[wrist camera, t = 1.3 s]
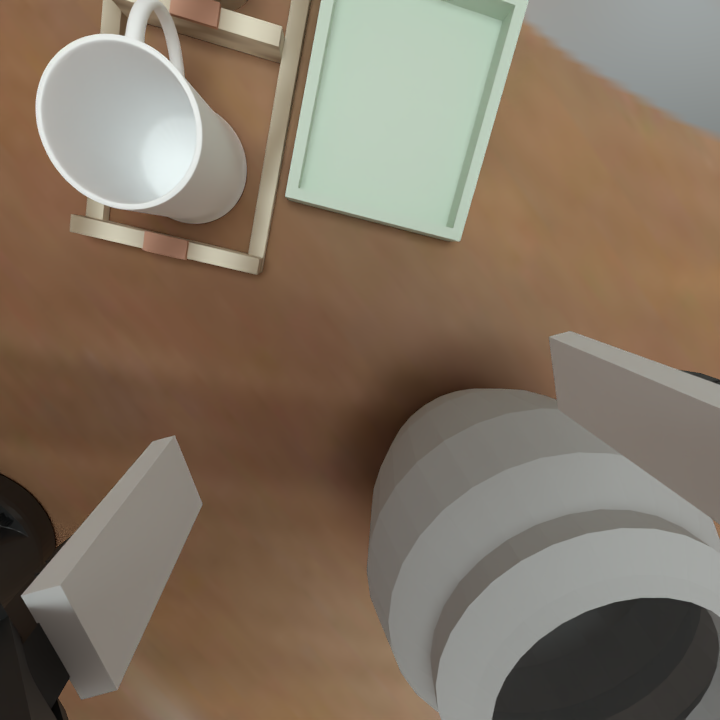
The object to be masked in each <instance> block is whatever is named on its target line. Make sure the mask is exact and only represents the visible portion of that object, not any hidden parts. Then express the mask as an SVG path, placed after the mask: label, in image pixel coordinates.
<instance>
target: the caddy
mask: <svg viewBox="0 0 720 720" xmlns="http://www.w3.org/2000/svg"><path fill="white" fill-rule="evenodd" d="M136 1H137V0H103V8H102V20H101V33H100V34H116V35H122V36H125V32H126V26H127V19H128V17H129V14H130V11H131V9H132V6H133V5H134V3H135V2H136ZM159 1H160V2H162V3H163V4H164V5H165V7H166V8H167V10H168V11H169V13H170V15H171V17H172V19H173V22H174V24H175V27H176V30H177V33H180V34H183V35H187V36H190V37H193V38H197V39H200V40H203V41H207V42H210V43H213V44H217V45H220V46H224V47H227V48H230V49H234V50H237V51H240V52H244V53H247V54H250V55H254V56H257V57H260V58H264V59H267V60H270V61H274V62H277V63H280V70H279V76H278V82H277V88H276V94H275V100H274V105H273V111H272V117H271V123H270V129H269V135H268V141H267V146H266V152H265V158H264V164H263V170H262V176H261V182H260V187H259V193H258V199H257V205H256V211H255V217H254V223H253V229H252V234H251V240H250V246H249V252H248V253H244V252H240V251H235V250H231V249H227V248H223V247H218V246H214V245H210V244H206V243H202V242H197V241H193V240H189V239H185V238H180V237H176V236H172V235H168V234H164V233H159V232H155V231H151V230H147V229H142V228H138V227H134V226H130V225H126V224H121V223H117V222H113V221H109V214H110V207H109V206H106V205H103V204H101V203H98V202H96V201H94V200H92V199H90V198H88V197H87V208H86V216H81V215H72V214H71V221H70V232H74V233H78V234H83V235H87V236H91V237H96V238H100V239H104V240H109V241H113V242H117V243H122V244H126V245H130V246H135V247H139V248H143V251H148V252H152V253H156V254H161V255H165V256H169V257H174V258H178V259H182V260H187V259H191V260H195V261H200V262H204V263H208V264H213V265H217V266H221V267H226V268H230V269H234V270H239V271H243V272H247V273H252V274H256V275H257V274H259V273H261V272H262V271H263V265H264V260H265V254H266V248H267V243H268V237H269V232H270V226H271V221H272V215H273V210H274V204H275V199H276V193H277V187H278V182H279V176H280V171H281V165H282V160H283V154H284V149H285V143H286V137H287V132H288V126H289V121H290V115H291V110H292V104H293V99H294V93H295V88H296V82H297V76H298V71H299V65H300V60H301V54H302V49H303V43H304V38H305V32H306V26H307V21H308V15H309V10H310V4H311V0H291V6H290V12H289V18H288V23H287V29H286V35H285V39H284V34H283V29H282V26H279V25H276V24H272V23H269V22H266V21H263V20H259V19H256V18H253V17H250V16H247V15H243V14H240V13H237V12H234V11H230V10H227V9H224V8H221V4H220V2H216V1H213V0H159ZM147 24H150V25H153V26H157V27H160V28H162V26H161V23H160V21H159V19H158V17H157V15H156V13H155V12H154V10H153V11H152V12H151V14H150V16H149V19H148V22H147Z"/></svg>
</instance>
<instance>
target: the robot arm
mask: <svg viewBox="0 0 720 720" xmlns="http://www.w3.org/2000/svg"><path fill="white" fill-rule="evenodd" d="M549 342H550V350H551V358H552V365H553V373H554V381H555V389H556V397H557V404H558V410H560V411H561V412H563V413H564V414H565V415H567V416H568V417H570V418H571V419H572V420H574V421H575V422H577V423H578V424H579V425H581V426H582V427H584V428H585V429H586V430H588V431H589V432H591V433H592V434H593V435H595V436H596V437H598V438H599V439H600V440H602V441H603V442H605V443H606V444H607V445H609V446H610V447H612V448H613V449H615V450H616V451H617V452H619V453H620V454H622V455H623V456H624V457H626V458H627V459H629V460H630V461H631V462H633V463H634V464H636V465H637V466H638V467H640V468H641V469H643V470H644V471H645V472H647V473H648V474H650V475H651V476H652V477H654V478H655V479H657V480H658V481H659V482H661V483H662V484H664V485H665V486H667V487H668V488H669V489H671V490H672V491H674V492H675V493H676V494H678V495H679V496H681V497H682V498H683V499H685V500H686V501H688V502H689V503H690V504H692V505H693V506H695V507H696V508H697V509H699V510H700V511H702V512H703V513H704V514H706V515H707V516H709V517H710V518H711V519H713V520H714V521H716V522H717V523H718V524H720V380H719V379H716V378H713V377H710V376H707V375H704V374H701V373H696V372H689V371H683V370H677V369H674V368H672V367H669V366H666V365H663V364H661V363H658V362H655V361H652V360H649V359H647V358H644V357H641V356H638V355H636V354H633V353H630V352H627V351H624V350H622V349H619V348H616V347H613V346H611V345H608V344H605V343H602V342H599V341H597V340H594V339H591V338H588V337H585V336H583V335H580V334H577V333H574V332H572V331H569V332H565V333H561V334H557V335H553V336H550V337H549ZM201 507H202V501H201V499H200V496H199V494H198V491H197V489H196V486H195V484H194V481H193V479H192V477H191V474H190V472H189V469H188V467H187V464H186V462H185V459H184V457H183V454H182V452H181V449H180V447H179V444H178V442H177V440H176V437H175V436H171V437H167V438H163V439H159V440H156V441H153V442H152V443H151V444H150V445H149V446H148V447H147V449H146V450H145V451H144V452H143V453H142V454H141V456H140V457H139V458H138V459H137V460H136V461H135V463H134V464H133V465H132V466H131V467H130V468H129V470H128V471H127V472H126V473H125V474H124V475H123V477H122V478H121V479H120V480H119V481H118V483H117V484H116V485H115V486H114V487H113V488H112V490H111V491H110V492H109V493H108V494H107V495H106V497H105V498H104V499H103V500H102V501H101V502H100V504H99V505H98V506H97V507H96V508H95V509H94V511H93V512H92V513H91V514H90V515H89V516H88V518H87V519H86V520H85V521H84V522H83V524H82V525H81V526H80V527H79V528H78V529H77V531H76V532H75V533H74V534H73V535H72V536H70V537H69V538H68V539H67V540H65V541H64V542H63V543H62V544H60V545H59V546H58V547H57V548H56V549H55V537H54V532H53V528H52V526H51V523H50V521H49V519H48V517H47V515H46V513H45V512H44V510H43V509H42V507H41V506H40V505H39V503H38V502H37V501H36V500H35V499H34V498H33V497H32V496H31V495H30V494H29V493H28V492H27V491H26V490H24V489H23V488H22V487H21V486H19V485H18V484H16V483H15V482H13V481H11V480H10V479H8V478H6V477H4V476H2V475H0V720H68V717H67V714H66V711H65V709H64V707H63V706H62V704H61V702H60V701H59V699H58V697H59V695H60V693H61V692H62V690H63V688H64V686H65V685H66V683H67V681H68V680H69V679H70V681H71V683H72V684H73V686H74V688H75V690H76V691H77V693H78V695H79V696H80V698H81V700H82V699H86V698H90V697H93V696H97V695H101V694H104V693H108V692H112V691H115V690H118V688H119V685H120V683H121V681H122V679H123V677H124V674H125V672H126V670H127V668H128V666H129V664H130V661H131V659H132V657H133V655H134V653H135V650H136V648H137V646H138V644H139V642H140V640H141V637H142V635H143V633H144V631H145V629H146V626H147V624H148V622H149V620H150V618H151V616H152V613H153V611H154V609H155V607H156V605H157V603H158V600H159V598H160V596H161V594H162V592H163V589H164V587H165V585H166V583H167V581H168V579H169V576H170V574H171V572H172V570H173V568H174V565H175V563H176V561H177V559H178V557H179V555H180V552H181V550H182V548H183V546H184V544H185V541H186V539H187V537H188V535H189V533H190V531H191V528H192V526H193V524H194V522H195V520H196V518H197V515H198V513H199V511H200V509H201Z"/></svg>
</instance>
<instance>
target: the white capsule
mask: <svg viewBox="0 0 720 720" xmlns="http://www.w3.org/2000/svg"><path fill="white" fill-rule="evenodd" d="M213 1H216V2H220V4H221V8H224V9H227V10H230V11H234V10H236V9H238V8H240V7H241V6H242V5H244V4H245V3H246V2H247V0H213Z"/></svg>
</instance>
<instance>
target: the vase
mask: <svg viewBox="0 0 720 720" xmlns="http://www.w3.org/2000/svg"><path fill="white" fill-rule="evenodd" d="M367 576H368V583H369V590H370V597H371V600H372V602H373V605H374V607H375V610H376V612H377V615H378V617H379V620H380V622H381V625H382V627H383V630H384V632H385V635H386V637H387V640H388V642H389V644H390V647H391V649H392V652H393V654H394V657H395V659H396V661H397V664H398V666H399V669H400V671H401V673H402V675H403V676H404V677H405V679H406V680H407V682H408V683H409V684H410V686H411V687H412V689H413V690H414V691H415V693H416V694H417V695H418V696H419V697H421V698H422V699H423V700H424V701H425V702H426V703H428V704H429V705H430V706H431V707H432V708H433V709H435V710H436V711H437V712H439V714H440V717H441V720H720V539H719V537H718V534H717V531H716V528H715V526H714V523H713V520H712V519H711V518H710V517H709V516H707V515H706V514H704V513H703V512H702V511H700V510H699V509H697V508H696V507H695V506H693V505H692V504H690V503H689V502H688V501H686V500H685V499H683V498H682V497H681V496H679V495H678V494H676V493H675V492H674V491H672V490H671V489H669V488H668V487H667V486H665V485H664V484H662V483H661V482H659V481H658V480H657V479H655V478H654V477H652V476H651V475H650V474H648V473H647V472H645V471H644V470H643V469H641V468H640V467H638V466H637V465H636V464H634V463H633V462H631V461H630V460H629V459H627V458H626V457H624V456H623V455H622V454H620V453H619V452H617V451H616V450H615V449H613V448H612V447H610V446H609V445H607V444H606V443H605V442H603V441H602V440H600V439H599V438H598V437H596V436H595V435H593V434H592V433H591V432H589V431H588V430H586V429H585V428H584V427H582V426H581V425H579V424H578V423H577V422H575V421H574V420H572V419H571V418H570V417H568V416H567V415H565V414H564V413H563V412H561V411H560V410H558V404H557V400H556V399H553V398H551V397H548V396H545V395H541V394H537V393H533V392H529V391H525V390H516V389H467V390H460V391H455V392H452V393H449V394H446V395H443V396H440V397H438V398H436V399H435V400H433V401H431V402H429V403H427V404H425V405H424V406H423V407H422V408H420V409H419V410H418V411H417V412H415V413H414V414H413V415H412V416H411V417H410V418H409V419H408V420H407V421H406V423H405V424H404V425H403V426H402V427H401V428H400V430H399V432H398V434H397V435H396V437H395V439H394V441H393V442H392V444H391V446H390V448H389V451H388V453H387V455H386V457H385V459H384V461H383V463H382V465H381V467H380V470H379V474H378V477H377V480H376V483H375V486H374V490H373V500H372V511H371V523H370V536H369V549H368V562H367Z"/></svg>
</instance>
